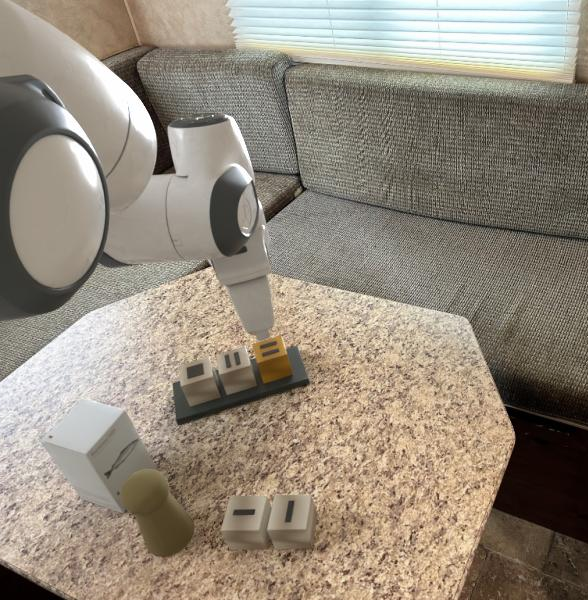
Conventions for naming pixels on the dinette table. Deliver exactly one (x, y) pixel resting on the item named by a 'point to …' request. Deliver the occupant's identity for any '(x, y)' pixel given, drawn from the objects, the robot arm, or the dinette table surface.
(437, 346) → the dinette table surface
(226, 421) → the dinette table surface
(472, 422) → the dinette table surface
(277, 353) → the yellow striped cube
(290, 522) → the white block
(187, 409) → the slate board
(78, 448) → the white packaging box
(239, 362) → the tile
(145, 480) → the olive game pawn
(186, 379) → the tile
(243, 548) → the off-white cube
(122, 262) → the robot arm
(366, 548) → the dinette table surface
